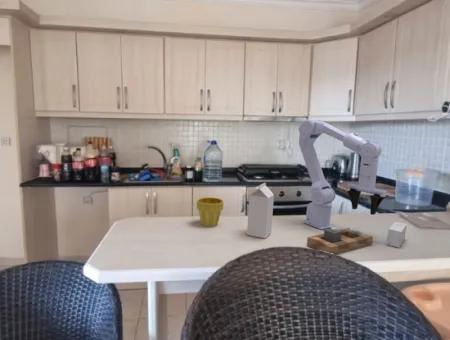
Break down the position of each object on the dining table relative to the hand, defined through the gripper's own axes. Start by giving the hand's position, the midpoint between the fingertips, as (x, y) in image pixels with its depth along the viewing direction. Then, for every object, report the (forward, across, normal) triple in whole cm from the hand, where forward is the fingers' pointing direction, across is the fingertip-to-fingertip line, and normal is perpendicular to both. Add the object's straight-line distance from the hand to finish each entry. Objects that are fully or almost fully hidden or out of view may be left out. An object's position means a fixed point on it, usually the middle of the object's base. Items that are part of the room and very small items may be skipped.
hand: (363, 211), depth 119 cm
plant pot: (+10, -37, -45) cm, 59 cm away
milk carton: (+10, -19, -34) cm, 40 cm away
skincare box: (+7, +7, +13) cm, 17 cm away
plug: (+10, +2, -19) cm, 22 cm away
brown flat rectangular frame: (+10, +2, -15) cm, 18 cm away
